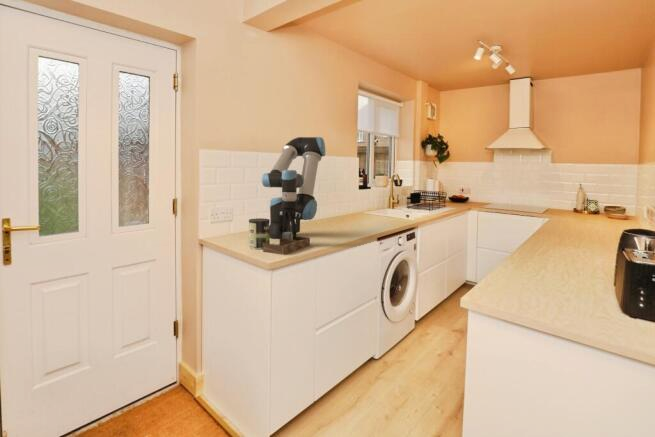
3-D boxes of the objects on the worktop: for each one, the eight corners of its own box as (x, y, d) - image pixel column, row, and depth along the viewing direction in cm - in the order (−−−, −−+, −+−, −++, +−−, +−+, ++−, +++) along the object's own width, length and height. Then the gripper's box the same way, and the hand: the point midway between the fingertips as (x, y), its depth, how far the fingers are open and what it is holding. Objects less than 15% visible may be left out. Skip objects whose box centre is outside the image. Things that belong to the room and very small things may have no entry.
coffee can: (272, 245, 189) (272, 218, 187) (265, 249, 179) (265, 221, 177) (254, 244, 191) (253, 217, 189) (245, 248, 181) (245, 220, 179)
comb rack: (290, 243, 195) (290, 235, 195) (309, 245, 190) (309, 238, 189) (263, 251, 175) (263, 243, 174) (283, 254, 169) (283, 246, 169)
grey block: (288, 244, 193) (288, 231, 192) (295, 245, 191) (295, 231, 190) (282, 246, 187) (282, 232, 186) (288, 247, 185) (288, 233, 185)
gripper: (271, 199, 187) (271, 244, 190) (299, 201, 179) (299, 248, 182) (279, 199, 194) (279, 242, 197) (307, 200, 186) (307, 245, 189)
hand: (289, 245), depth 189 cm, fingers open, 4 cm apart
